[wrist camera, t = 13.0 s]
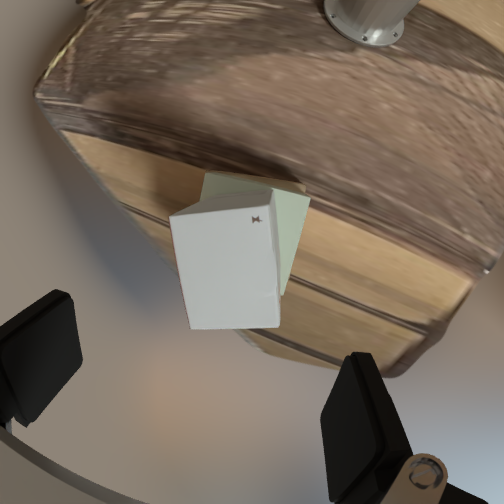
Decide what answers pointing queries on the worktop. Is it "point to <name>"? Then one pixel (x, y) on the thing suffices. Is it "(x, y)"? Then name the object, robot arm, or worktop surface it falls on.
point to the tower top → (287, 208)
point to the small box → (229, 260)
